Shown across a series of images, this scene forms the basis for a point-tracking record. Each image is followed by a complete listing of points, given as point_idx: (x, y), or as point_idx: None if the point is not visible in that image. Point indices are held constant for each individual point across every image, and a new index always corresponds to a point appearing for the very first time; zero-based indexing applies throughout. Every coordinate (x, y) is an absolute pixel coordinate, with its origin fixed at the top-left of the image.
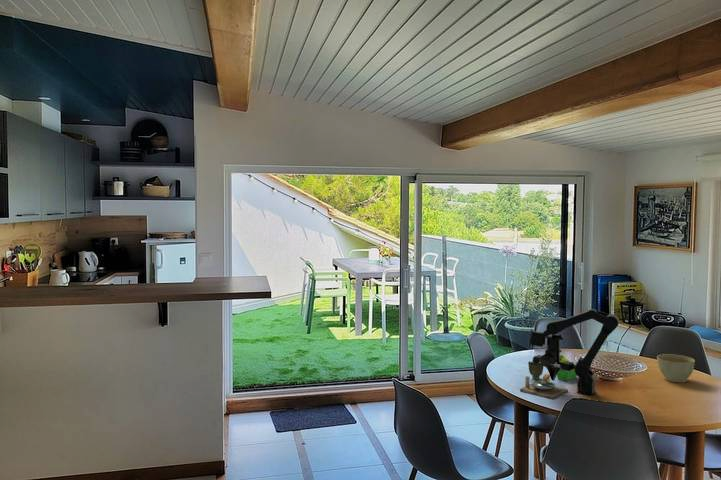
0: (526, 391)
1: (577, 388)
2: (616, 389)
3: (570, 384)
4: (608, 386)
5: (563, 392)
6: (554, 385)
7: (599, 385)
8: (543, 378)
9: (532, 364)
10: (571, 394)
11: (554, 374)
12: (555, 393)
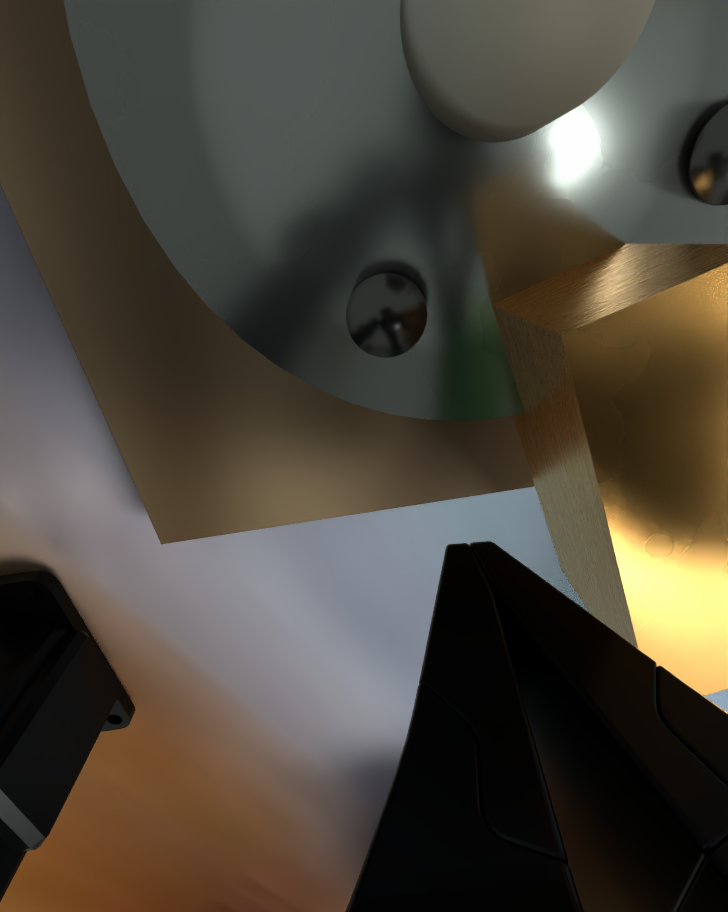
0: None
1: (69, 653)
2: (4, 896)
3: (368, 744)
4: (110, 903)
5: (93, 365)
6: (179, 255)
7: (173, 880)
8: (683, 262)
9: None
10: (15, 442)
11: (416, 694)
12: (19, 32)
